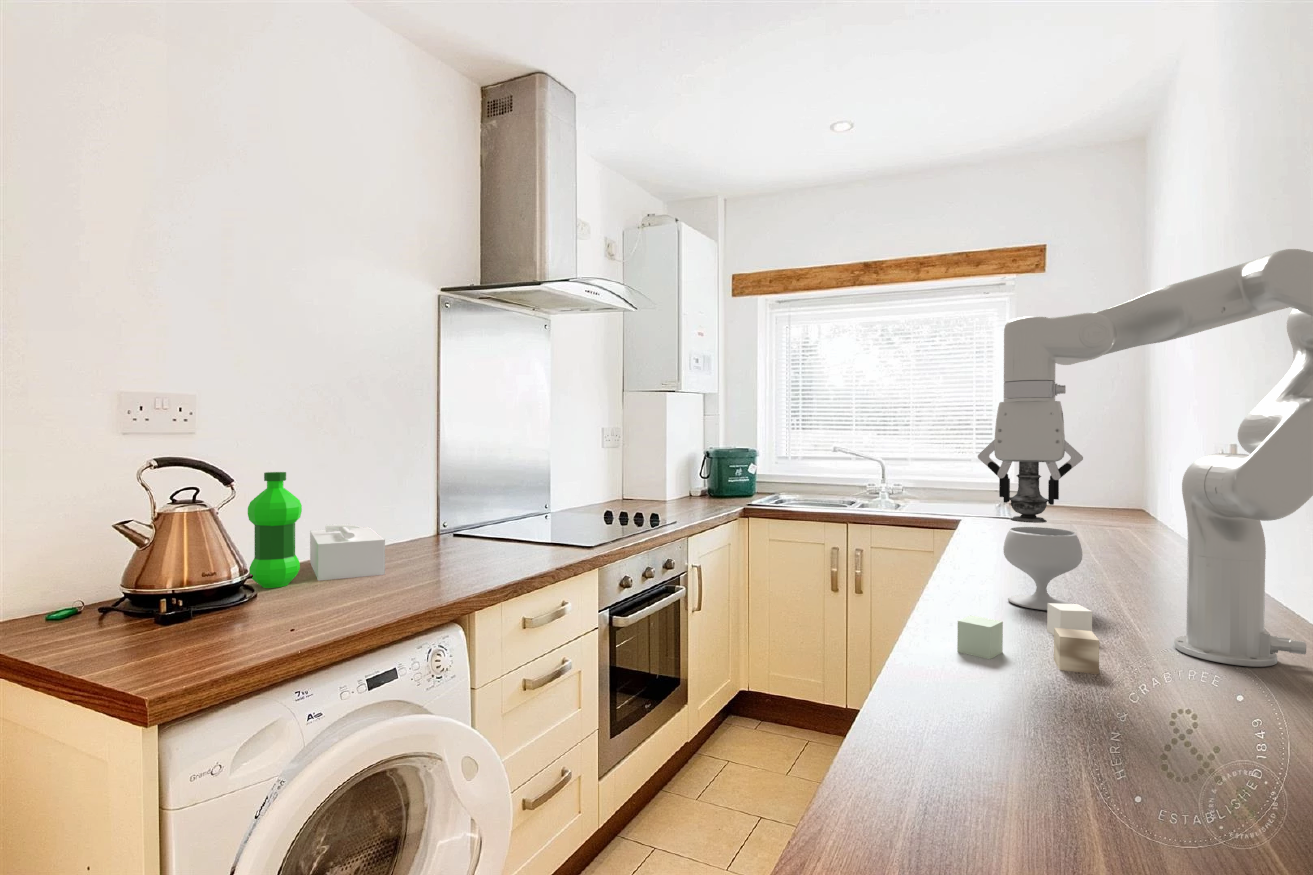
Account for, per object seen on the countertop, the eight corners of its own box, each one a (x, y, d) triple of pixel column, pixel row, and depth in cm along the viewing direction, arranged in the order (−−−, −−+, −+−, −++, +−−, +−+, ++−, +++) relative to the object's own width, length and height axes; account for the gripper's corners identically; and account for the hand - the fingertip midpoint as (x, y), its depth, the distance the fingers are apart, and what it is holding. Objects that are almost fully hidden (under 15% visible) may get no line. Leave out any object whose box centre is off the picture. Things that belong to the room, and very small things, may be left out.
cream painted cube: (1077, 632, 122) (1077, 604, 122) (1091, 641, 117) (1092, 611, 117) (1047, 631, 123) (1047, 603, 123) (1060, 639, 118) (1060, 610, 118)
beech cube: (1091, 664, 106) (1091, 631, 106) (1098, 674, 101) (1099, 640, 101) (1053, 660, 107) (1054, 627, 107) (1059, 670, 103) (1059, 636, 103)
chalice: (1066, 617, 132) (1067, 538, 132) (991, 603, 142) (991, 530, 142) (1092, 606, 141) (1092, 531, 141) (1019, 593, 151) (1020, 524, 151)
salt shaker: (1054, 523, 112) (1054, 448, 112) (1014, 522, 113) (1014, 448, 113) (1041, 518, 118) (1042, 447, 117) (1004, 517, 119) (1004, 447, 119)
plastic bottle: (286, 590, 150) (286, 474, 150) (237, 590, 150) (237, 473, 150) (310, 580, 160) (310, 471, 160) (264, 580, 160) (264, 471, 160)
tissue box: (369, 558, 189) (369, 518, 189) (384, 575, 168) (385, 530, 167) (310, 563, 182) (310, 521, 182) (318, 581, 160) (318, 534, 160)
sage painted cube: (1002, 652, 111) (1002, 621, 111) (990, 659, 107) (990, 627, 107) (970, 645, 114) (970, 615, 114) (957, 652, 111) (957, 620, 111)
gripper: (1090, 393, 114) (1089, 503, 114) (974, 395, 123) (974, 498, 123) (1091, 390, 108) (1090, 508, 108) (969, 393, 116) (968, 502, 117)
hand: (1028, 501), depth 115 cm, fingers closed on salt shaker, 5 cm apart
